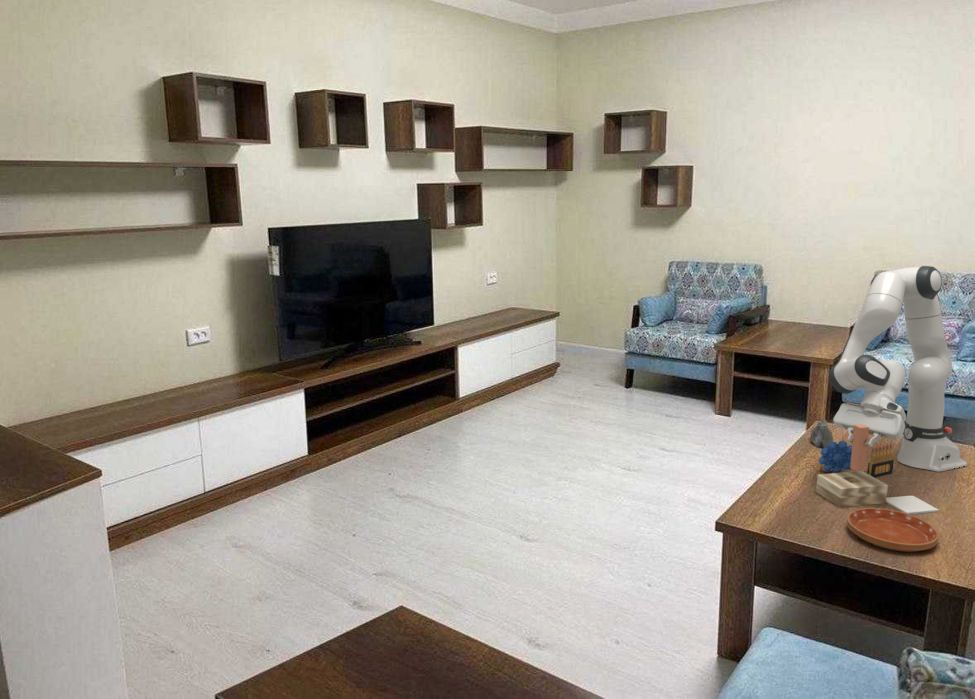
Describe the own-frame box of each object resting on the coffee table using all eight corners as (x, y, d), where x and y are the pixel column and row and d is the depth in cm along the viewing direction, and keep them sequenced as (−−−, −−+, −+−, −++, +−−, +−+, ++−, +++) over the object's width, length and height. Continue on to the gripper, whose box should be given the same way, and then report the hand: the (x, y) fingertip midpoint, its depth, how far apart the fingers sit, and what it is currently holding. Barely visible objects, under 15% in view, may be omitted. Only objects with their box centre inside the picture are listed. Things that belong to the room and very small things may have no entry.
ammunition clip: (871, 478, 256) (875, 445, 253) (866, 476, 257) (870, 443, 255) (892, 473, 260) (896, 440, 258) (887, 471, 262) (891, 438, 259)
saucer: (945, 535, 215) (947, 523, 215) (925, 564, 199) (927, 551, 198) (860, 512, 230) (861, 501, 229) (834, 538, 214) (836, 526, 213)
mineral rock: (813, 436, 299) (816, 411, 297) (842, 442, 292) (845, 417, 290) (801, 444, 289) (804, 419, 287) (831, 450, 282) (833, 425, 280)
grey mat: (912, 497, 241) (912, 495, 241) (938, 511, 230) (938, 509, 230) (881, 499, 239) (881, 498, 239) (906, 514, 228) (906, 512, 228)
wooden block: (858, 467, 239) (862, 424, 236) (865, 470, 236) (868, 427, 233) (850, 467, 238) (853, 425, 236) (856, 471, 236) (860, 427, 233)
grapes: (855, 472, 262) (858, 438, 259) (854, 478, 256) (858, 444, 253) (818, 466, 267) (821, 433, 264) (817, 472, 261) (820, 439, 258)
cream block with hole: (861, 488, 248) (863, 470, 247) (887, 503, 236) (889, 485, 235) (816, 492, 245) (817, 474, 243) (839, 507, 233) (841, 489, 232)
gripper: (840, 395, 245) (823, 430, 241) (907, 408, 230) (890, 446, 226) (846, 406, 249) (829, 441, 245) (912, 419, 234) (895, 456, 229)
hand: (859, 443), depth 235 cm, fingers closed on wooden block, 4 cm apart
